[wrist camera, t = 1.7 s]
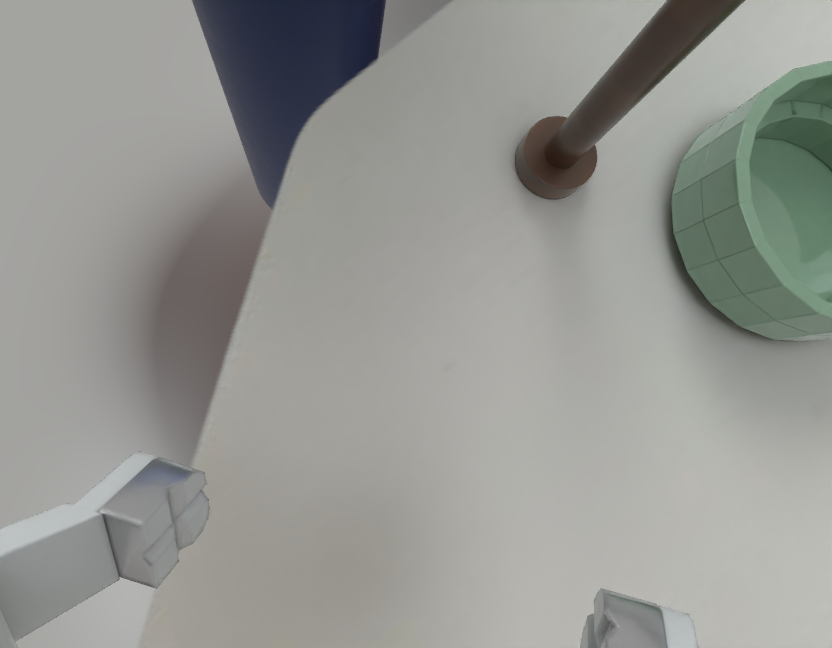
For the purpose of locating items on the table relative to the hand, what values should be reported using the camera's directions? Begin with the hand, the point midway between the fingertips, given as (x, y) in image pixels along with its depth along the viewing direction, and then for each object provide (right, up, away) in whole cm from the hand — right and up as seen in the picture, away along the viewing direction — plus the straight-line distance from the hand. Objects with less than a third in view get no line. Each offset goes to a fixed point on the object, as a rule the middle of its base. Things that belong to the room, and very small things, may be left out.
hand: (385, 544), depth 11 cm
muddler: (+9, +14, +21) cm, 27 cm away
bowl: (+23, +11, +23) cm, 34 cm away
